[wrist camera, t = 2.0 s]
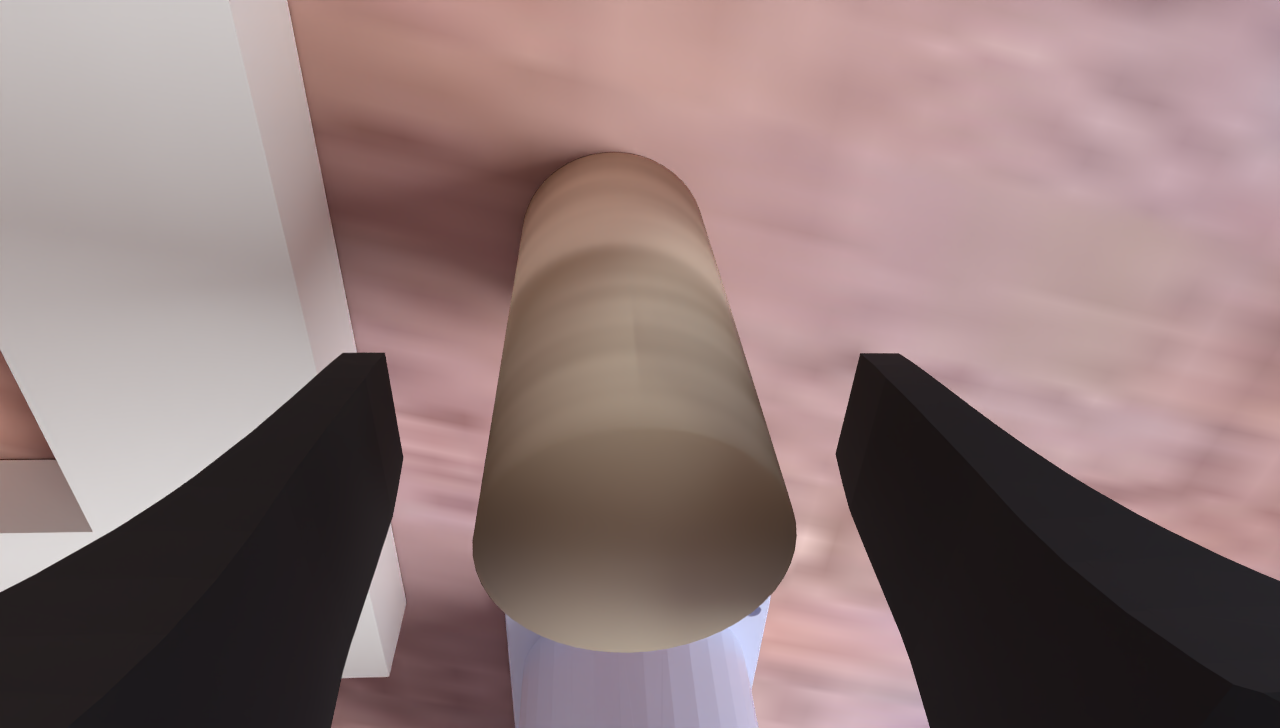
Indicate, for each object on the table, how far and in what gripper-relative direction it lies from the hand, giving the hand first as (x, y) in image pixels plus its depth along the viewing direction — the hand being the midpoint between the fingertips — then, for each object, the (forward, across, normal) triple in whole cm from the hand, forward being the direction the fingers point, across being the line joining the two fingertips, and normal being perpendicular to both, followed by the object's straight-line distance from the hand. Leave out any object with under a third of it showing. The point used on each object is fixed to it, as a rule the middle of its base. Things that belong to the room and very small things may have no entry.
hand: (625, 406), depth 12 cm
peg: (+6, 0, 0) cm, 6 cm away
